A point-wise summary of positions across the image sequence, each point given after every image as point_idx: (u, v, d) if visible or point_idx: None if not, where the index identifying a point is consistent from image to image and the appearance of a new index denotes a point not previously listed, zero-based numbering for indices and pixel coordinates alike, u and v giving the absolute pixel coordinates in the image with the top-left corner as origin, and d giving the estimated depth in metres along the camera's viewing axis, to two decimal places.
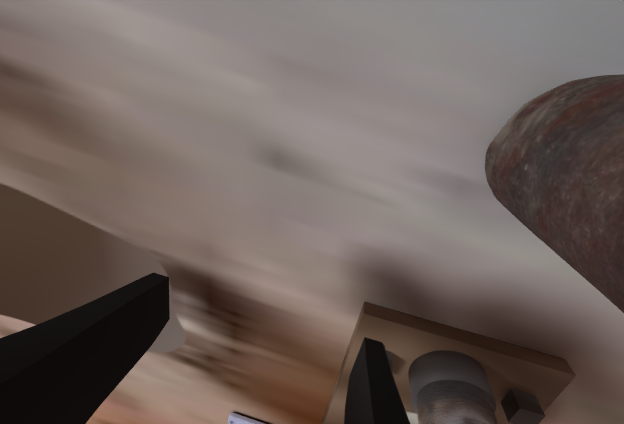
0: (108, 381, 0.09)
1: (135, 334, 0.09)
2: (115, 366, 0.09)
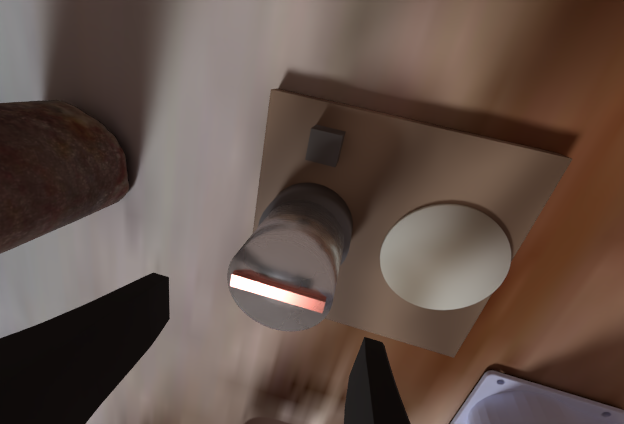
0: (108, 381, 0.09)
1: (135, 334, 0.09)
2: (115, 366, 0.09)
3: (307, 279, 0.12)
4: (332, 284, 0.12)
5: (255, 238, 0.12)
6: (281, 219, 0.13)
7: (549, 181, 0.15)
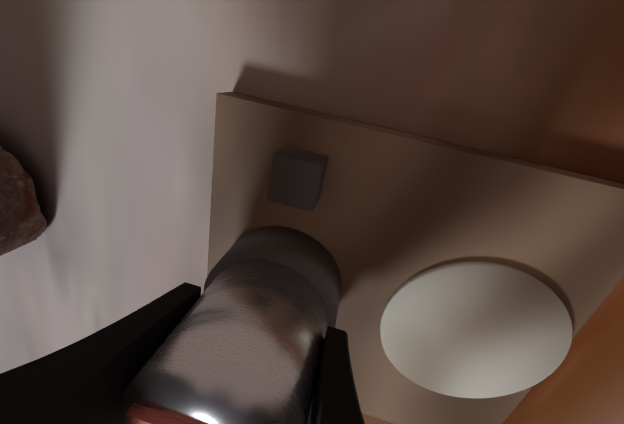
0: None
1: None
2: None
3: None
4: None
5: (166, 352, 0.07)
6: (221, 305, 0.08)
7: None
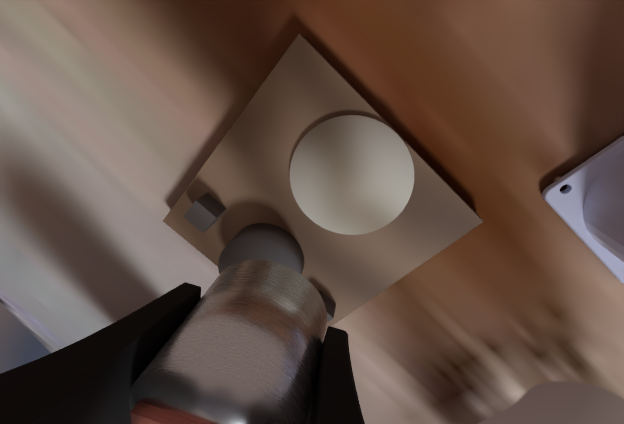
0: None
1: None
2: None
3: None
4: None
5: (169, 353, 0.07)
6: (223, 305, 0.08)
7: (312, 59, 0.15)
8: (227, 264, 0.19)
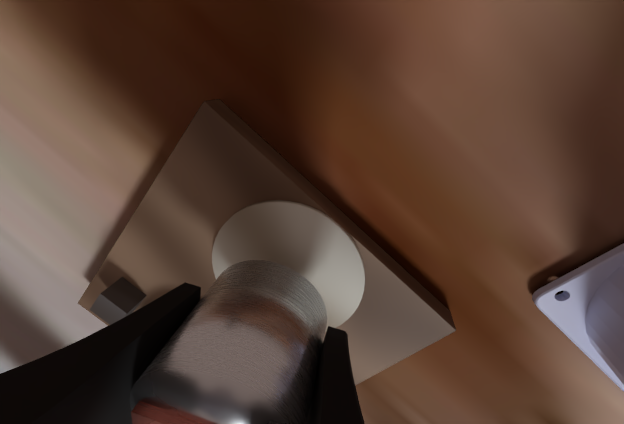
0: None
1: None
2: None
3: None
4: None
5: (171, 353, 0.07)
6: (224, 306, 0.08)
7: (224, 132, 0.11)
8: None
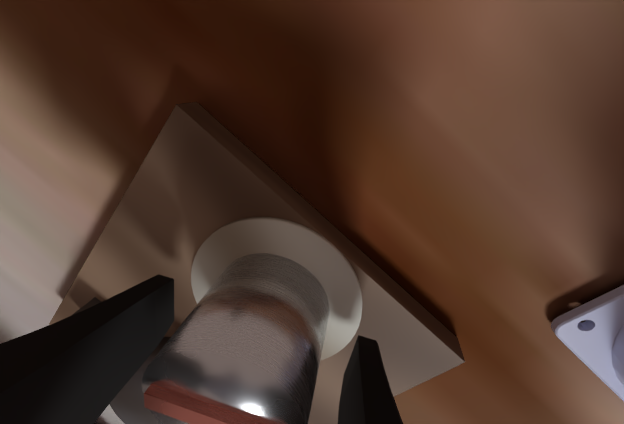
0: (114, 383, 0.09)
1: (141, 336, 0.09)
2: (121, 368, 0.09)
3: (264, 407, 0.07)
4: (303, 416, 0.07)
5: (183, 336, 0.08)
6: (233, 294, 0.09)
7: (200, 140, 0.10)
8: (118, 398, 0.14)
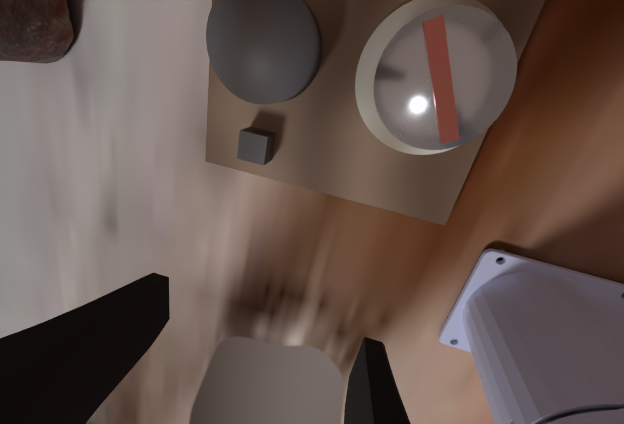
0: (108, 381, 0.09)
1: (135, 334, 0.09)
2: (115, 366, 0.09)
3: (473, 107, 0.10)
4: (476, 135, 0.11)
5: None
6: None
7: None
8: None
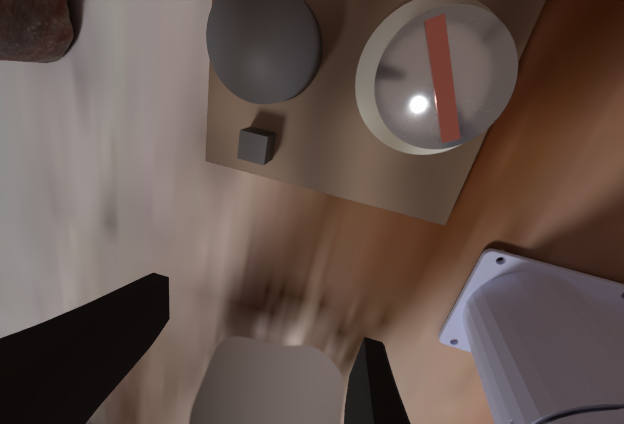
0: (108, 381, 0.09)
1: (135, 334, 0.09)
2: (115, 366, 0.09)
3: (474, 107, 0.10)
4: (477, 135, 0.11)
5: None
6: None
7: None
8: None
